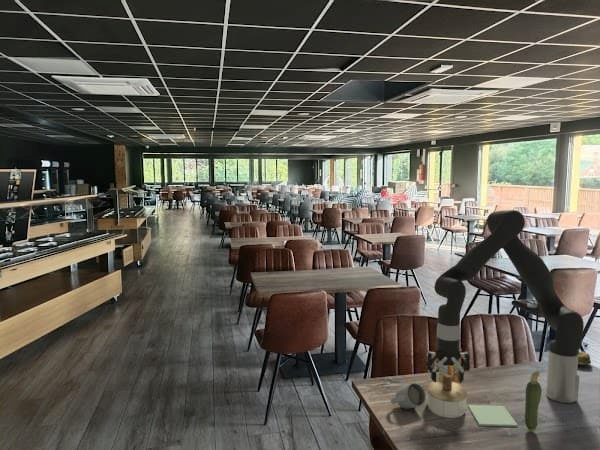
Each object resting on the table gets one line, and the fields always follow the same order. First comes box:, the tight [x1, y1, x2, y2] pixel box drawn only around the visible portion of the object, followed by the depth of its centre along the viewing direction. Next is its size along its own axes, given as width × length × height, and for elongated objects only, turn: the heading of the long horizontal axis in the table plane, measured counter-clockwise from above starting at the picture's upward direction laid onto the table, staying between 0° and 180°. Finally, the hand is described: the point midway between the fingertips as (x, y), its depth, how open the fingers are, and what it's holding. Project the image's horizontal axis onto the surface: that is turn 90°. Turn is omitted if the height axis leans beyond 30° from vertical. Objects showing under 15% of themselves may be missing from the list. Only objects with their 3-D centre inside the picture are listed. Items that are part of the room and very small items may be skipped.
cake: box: [578, 349, 592, 366], centre depth 195 cm, size 10×10×5 cm
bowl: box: [426, 390, 467, 419], centre depth 156 cm, size 12×12×6 cm
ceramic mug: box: [390, 382, 427, 410], centre depth 155 cm, size 11×8×8 cm
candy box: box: [438, 348, 463, 385], centre depth 170 cm, size 9×4×15 cm, turn 129°
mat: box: [467, 404, 519, 428], centre depth 151 cm, size 12×12×1 cm
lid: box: [426, 375, 468, 402], centre depth 155 cm, size 13×13×6 cm
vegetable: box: [524, 371, 542, 433], centre depth 142 cm, size 4×4×20 cm
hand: (446, 381), depth 155 cm, fingers open, 8 cm apart
